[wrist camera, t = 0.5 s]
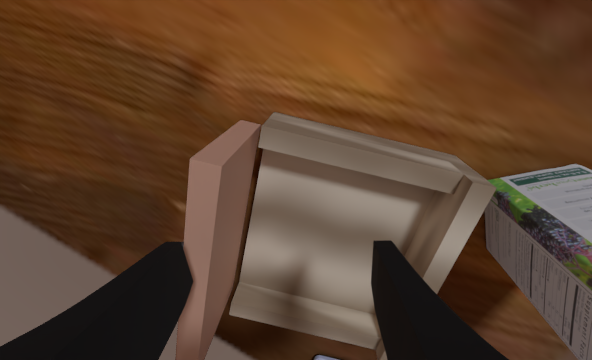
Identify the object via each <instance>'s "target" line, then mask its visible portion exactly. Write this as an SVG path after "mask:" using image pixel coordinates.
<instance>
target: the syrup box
mask: <svg viewBox="0 0 592 360" xmlns="http://www.w3.org/2000/svg"><path fill="white" fill-rule="evenodd" d="M487 181H489V182H490V183H491V184H493V185H494V186H495V187H496V188H497V189H496V191H495V192H494V194H493V196H492V198H491V199H490V201H489V203H488V205H487V206H486V208H485V229H486V248H487V250H488V251H489V252H490V253H491V255H492V256H493V257H494V258H495V260H496V261H497V262H498V263H499V264H500V265H501V267H502V268H503V269H504V270H505V271H506V272H507V274H508V275H509V276H510V278H511V279H512V280H513V281H514V282H515V284H516V285H517V286H518V287H519V289H520V290H521V291H522V292H523V293H524V294H525V296H526V297H527V298H528V299H529V300H530V302H531V303H532V304H533V305H534V307H535V308H536V309H537V310H538V311H539V313H540V314H541V315H542V316H543V318H544V319H545V320H546V321H547V322H548V323H549V325H550V326H551V327H552V328H553V329H554V331H555V332H556V333H557V334H558V336H559V337H560V338H561V339H562V340H563V342H564V343H565V344H566V345H567V346H568V348H569V349H570V350H571V351H572V352H573V353H574V355H575V356H576V357H577V358H578V359H579V360H592V170H590V169H588V168H586V167H584V166H581V165H577V164H572V165H567V166H564V167H558V168H553V169H545V170H539V171H534V172H529V173H523V174H518V175H513V176H507V177H502V178H498V179H492V180H487Z"/></svg>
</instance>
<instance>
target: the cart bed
mask: <svg viewBox="0 0 592 360" xmlns="http://www.w3.org/2000/svg"><path fill="white" fill-rule="evenodd" d="M258 147H259V148H263V153H262V159H261V164H260V170H259V175H258V181H257V186H256V192H255V197H254V203H253V208H252V214H251V219H250V225H249V230H248V236H247V241H246V247H245V252H244V258H243V263H242V269H241V274H240V280H239V284H238V286H237V289H236V292H235V294H234V297H233V299H232V302H231V307H230V313H229V315H233V316H237V317H241V318H245V319H249V320H254V321H258V322H262V323H266V324H270V325H275V326H279V327H283V328H287V329H291V330H295V331H300V332H304V333H308V334H312V335H316V336H320V337H325V338H329V339H333V340H337V341H341V342H346V343H350V344H354V345H358V346H362V347H366V348H371V349H375V350H376V353H377V359H378V360H387V356H386V352H385V348H384V344H383V340H382V336H381V333H380V329H379V325H378V321H377V317H376V313H375V308H374V301H373V294H372V287H371V273H372V256H373V241H383V240H391V241H392V242H393V243H394V244H395V245H396V247H397V248H398V249H399V251H400V252H401V253H402V254H403V256H404V257H405V258H406V260H407V261H408V262H409V263H410V264H411V266H412V267H413V268H414V269H415V271H416V272H417V273H418V274H419V275H420V276H421V277H422V279H423V280H424V281H425V282H426V283H427V284H428V285H429V286H430V288H431V289H432V290H433V291H434V292H435V293H436V294H437V293H438V291H439V289H440V288H441V286H442V284H443V282H444V281H445V279H446V277H447V275H448V274H449V272H450V270H451V268H452V266H453V265H454V263H455V261H456V259H457V258H458V256H459V254H460V252H461V251H462V249H463V247H464V245H465V244H466V242H467V240H468V238H469V236H470V235H471V233H472V231H473V229H474V228H475V226H476V224H477V222H478V221H479V219H480V217H481V215H482V214H483V212H484V210H485V208H486V206H487V205H488V203H489V201H490V199H491V198H492V196H493V194H494V192H495V191H496V189H497V188H496V187H495V186H494V185H493V184H491V183H490V182H489V181H487V180H486V179H485V178H483V177H482V176H481V175H480V174H478V173H477V172H476V171H474V170H473V169H472V168H470V167H469V166H468V165H466V164H465V163H464V162H463V161H461V160H460V159H459V158H457V157H456V156H455V155H450V154H446V153H442V152H438V151H434V150H430V149H426V148H421V147H417V146H413V145H409V144H405V143H401V142H397V141H392V140H388V139H384V138H380V137H376V136H372V135H368V134H363V133H359V132H355V131H351V130H347V129H343V128H339V127H334V126H330V125H326V124H322V123H318V122H314V121H310V120H305V119H301V118H297V117H293V116H289V115H285V114H281V113H276V112H274V113H273V114H272V115H271V116H270V117H269V119H268V120H267V121H266V122H265V123H264V124H263V125H262V129H261V134H260V140H259V146H258Z"/></svg>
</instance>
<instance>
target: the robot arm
mask: <svg viewBox="0 0 592 360" xmlns="http://www.w3.org/2000/svg"><path fill="white" fill-rule="evenodd" d="M192 284H193V278H192V275H191V272H190V269H189V266H188V262H187V259H186V256H185V253H184V250H183V246H182V243H181V242H165V243H164V244H162V245H160V246H159V247H157V248H156V249H155V250H153V251H152V252H150V253H149V254H147V255H146V256H145V257H143V258H142V259H141V260H139V261H138V262H136V263H135V264H134V265H132V266H131V267H129V268H128V269H127V270H125V271H124V272H122V273H121V274H120V275H118V276H117V277H116V278H114V279H113V280H111V281H110V282H108V283H107V284H105V285H104V286H102V287H101V288H99V289H98V290H96V291H95V292H94V293H92V294H91V295H89V296H88V297H86V298H85V299H83V300H82V301H80V302H79V303H77V304H75V305H74V306H72V307H71V308H69V309H67V310H66V311H64V312H62V313H61V314H59V315H57V316H56V317H54V318H52V319H50V320H49V321H47V322H45V323H44V324H42V325H40V326H38V327H37V328H35V329H33V330H31V331H29V332H27V333H25V334H23V335H21V336H19V337H18V338H16V339H14V340H12V341H10V342H8V343H6V344H4V345H3V346H0V360H158V359H159V357H160V355H161V353H162V351H163V349H164V347H165V345H166V343H167V341H168V339H169V337H170V335H171V333H172V331H173V330H174V328H175V325H176V324H177V322H178V319H179V317H180V315H181V313H182V311H183V309H184V307H185V304H186V302H187V299H188V296H189V293H190V290H191V287H192ZM371 287H372V294H373V301H374V308H375V313H376V317H377V321H378V325H379V329H380V333H381V336H382V340H383V344H384V348H385V352H386V356H387V360H508V359H507V358H506V357H505V356H503V355H502V354H501V353H500V352H498V351H497V350H496V349H495V348H493V347H492V346H491V345H490V344H489V343H488V342H486V341H485V340H484V339H483V338H482V337H481V336H479V335H478V334H477V333H476V332H475V331H474V330H473V329H472V328H470V327H469V326H468V325H467V324H466V323H465V322H464V321H463V320H462V319H461V318H460V317H459V316H458V315H457V314H456V313H455V312H454V311H452V310H451V309H450V307H449V306H448V305H447V304H446V303H445V302H444V301H443V300H442V299H441V298H440V297H439V296H438V295H437V294H436V293H435V292H434V291H433V290H432V289H431V288H430V286H429V285H428V284H427V283H426V282H425V281H424V280H423V279H422V277H421V276H420V275H419V274H418V273H417V272H416V271H415V269H414V268H413V267H412V266H411V264H410V263H409V262H408V261H407V260H406V258H405V257H404V256H403V254H402V253H401V252H400V251H399V249H398V248H397V247H396V245H395V244H394V243H393V242H392V241H391V240H383V241H373V256H372V273H371ZM314 360H339V359H334V358H330V357H326V356H322V355H317V356H315V358H314Z"/></svg>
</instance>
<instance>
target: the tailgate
mask: <svg viewBox="0 0 592 360" xmlns="http://www.w3.org/2000/svg"><path fill="white" fill-rule="evenodd" d="M260 126H261V125H260V124H255V123H251V122H247V121H243V120H240V121H239V122H238V123H236V124H235V125H234V126H232V127H231V128H230V129H228V130H227V131H226V132H225V133H223V134H222V135H221V136H219V137H218V138H217V139H215V140H214V141H213V142H211V143H210V144H209V145H207V146H206V147H205V148H203V149H202V150H201V151H200V152H198V153H197V154H196V155H194V156H193V157H192V158H190V165H189V179H188V193H187V207H186V221H185V235H184V242H181V243H182V246H183V250H184V253H185V256H186V259H187V262H188V266H189V269H190V272H191V275H192V278H193V284H192V287H191V290H190V293H189V296H188V299H187V302H186V304H185V307H184V309H183V311H182V313H181V315H180V317H179V319H178V332H177V345H176V359H175V360H204V359H205V356H206V354H207V351H208V349H209V346H210V344H211V341H212V339H213V336H214V334H215V331H216V329H217V326H218V324H219V321H220V319H221V316H222V314H223V311H224V309H225V306H226V304H227V301H228V299H229V296H230V294H231V291H232V289H233V284H234V278H235V272H236V266H237V261H238V255H239V249H240V243H241V237H242V231H243V226H244V220H245V214H246V208H247V202H248V196H249V191H250V185H251V179H252V173H253V167H254V161H255V156H256V150H257V144H258V138H259V132H260Z"/></svg>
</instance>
